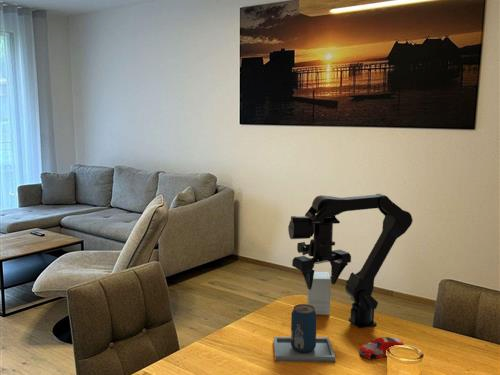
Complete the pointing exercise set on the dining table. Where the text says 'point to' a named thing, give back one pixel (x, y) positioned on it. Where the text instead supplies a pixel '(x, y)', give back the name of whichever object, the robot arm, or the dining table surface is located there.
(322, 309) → the supplement box
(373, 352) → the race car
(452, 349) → the dining table surface
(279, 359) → the tray
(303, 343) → the soda can
